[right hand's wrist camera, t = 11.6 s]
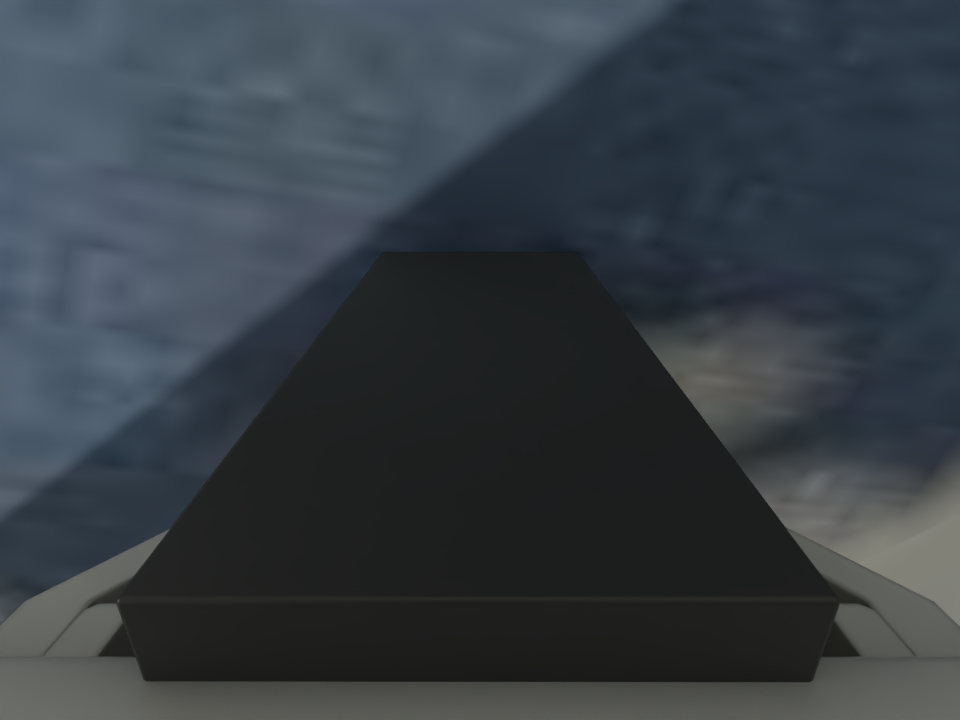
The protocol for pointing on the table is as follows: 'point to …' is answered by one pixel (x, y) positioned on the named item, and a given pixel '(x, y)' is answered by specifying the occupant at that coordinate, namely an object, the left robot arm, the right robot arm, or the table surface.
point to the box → (478, 507)
